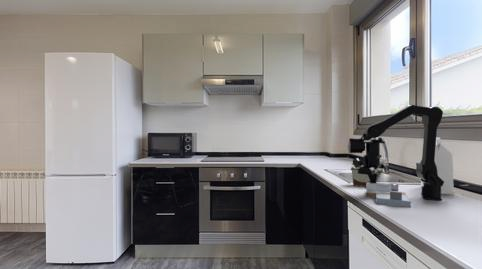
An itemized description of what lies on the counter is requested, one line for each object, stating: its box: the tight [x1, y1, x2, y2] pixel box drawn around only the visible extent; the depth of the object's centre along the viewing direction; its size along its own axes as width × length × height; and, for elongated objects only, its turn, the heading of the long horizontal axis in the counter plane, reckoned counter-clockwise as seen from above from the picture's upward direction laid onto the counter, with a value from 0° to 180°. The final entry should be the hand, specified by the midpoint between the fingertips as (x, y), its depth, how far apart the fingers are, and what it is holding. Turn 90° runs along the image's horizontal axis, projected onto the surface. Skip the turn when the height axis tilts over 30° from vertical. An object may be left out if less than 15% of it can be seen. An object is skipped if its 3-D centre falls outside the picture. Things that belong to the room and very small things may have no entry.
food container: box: [350, 165, 370, 188], centre depth 151 cm, size 12×6×10 cm, turn 65°
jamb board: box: [365, 190, 407, 198], centre depth 128 cm, size 16×9×2 cm, turn 65°
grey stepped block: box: [375, 191, 412, 208], centre depth 117 cm, size 12×10×5 cm
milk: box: [420, 137, 455, 195], centre depth 139 cm, size 12×12×26 cm
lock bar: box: [365, 182, 400, 192], centre depth 126 cm, size 13×4×3 cm, turn 76°
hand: (373, 186), depth 129 cm, fingers closed
